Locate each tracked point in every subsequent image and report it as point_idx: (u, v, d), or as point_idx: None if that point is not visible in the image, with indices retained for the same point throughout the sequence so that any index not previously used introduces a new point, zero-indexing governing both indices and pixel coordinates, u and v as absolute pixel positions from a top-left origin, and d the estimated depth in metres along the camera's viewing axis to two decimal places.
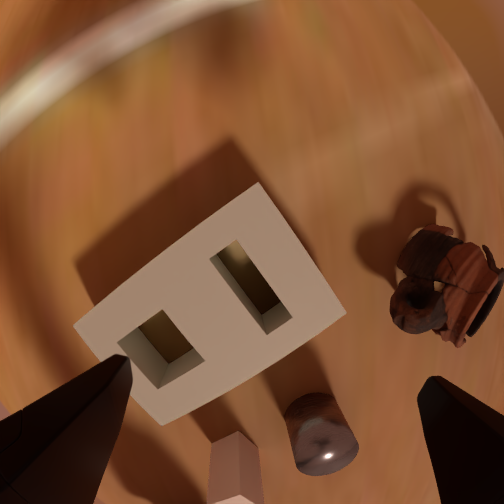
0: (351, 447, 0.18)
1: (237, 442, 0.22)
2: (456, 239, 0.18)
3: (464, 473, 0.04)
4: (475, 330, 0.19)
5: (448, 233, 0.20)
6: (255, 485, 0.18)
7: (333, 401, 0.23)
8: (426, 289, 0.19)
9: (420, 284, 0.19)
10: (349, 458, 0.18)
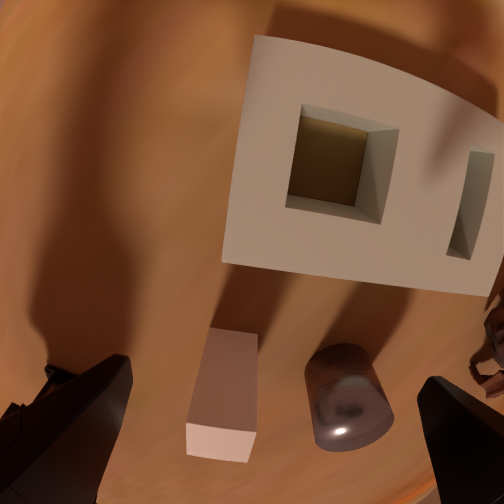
0: (378, 433, 0.15)
1: (255, 349, 0.17)
2: None
3: (464, 473, 0.04)
4: (496, 395, 0.17)
5: None
6: None
7: None
8: None
9: None
10: (360, 444, 0.15)
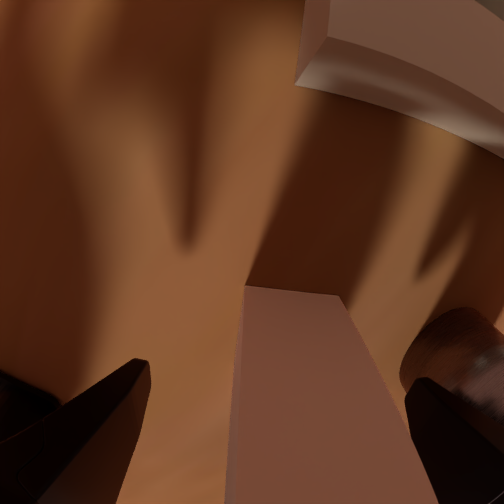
0: None
1: (348, 320, 0.08)
2: None
3: (451, 478, 0.04)
4: None
5: None
6: None
7: None
8: None
9: None
10: None
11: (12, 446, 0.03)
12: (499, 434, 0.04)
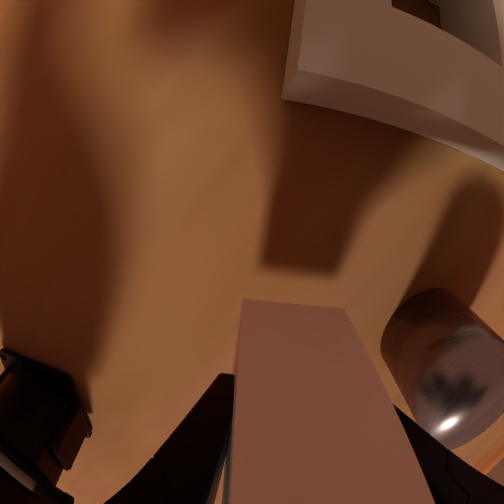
0: (500, 411, 0.07)
1: (355, 338, 0.07)
2: None
3: None
4: None
5: None
6: None
7: None
8: None
9: None
10: (475, 433, 0.08)
11: (131, 497, 0.03)
12: (436, 457, 0.04)
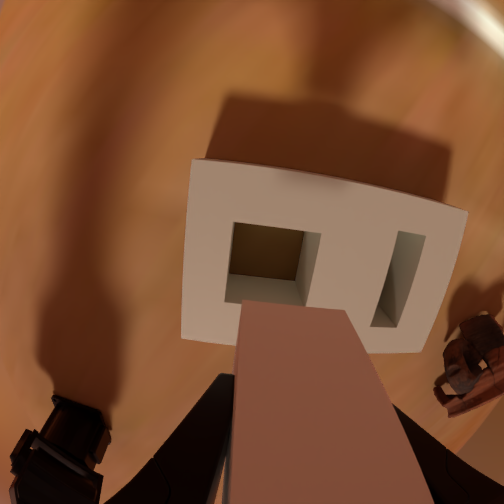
0: None
1: (356, 340, 0.07)
2: None
3: None
4: None
5: None
6: None
7: None
8: (474, 359, 0.18)
9: (472, 353, 0.18)
10: None
11: (131, 497, 0.03)
12: (436, 457, 0.04)
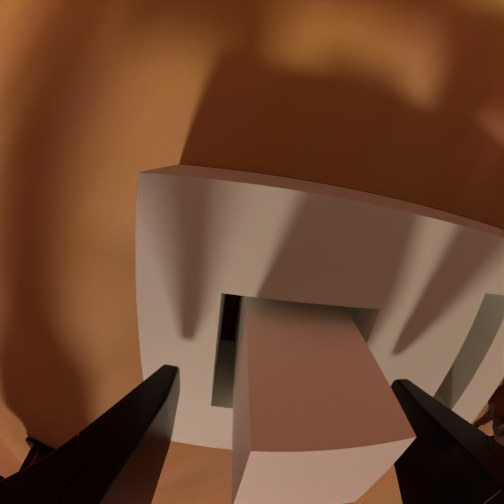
0: None
1: None
2: None
3: (428, 487, 0.04)
4: None
5: None
6: None
7: None
8: None
9: None
10: None
11: (49, 466, 0.03)
12: (480, 442, 0.04)
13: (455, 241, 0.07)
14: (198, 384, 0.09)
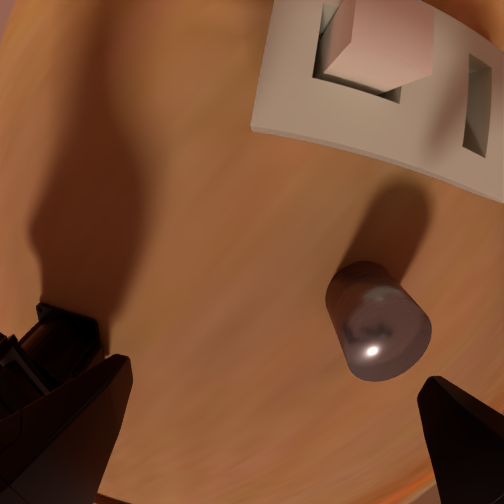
0: (414, 355, 0.14)
1: None
2: None
3: (464, 473, 0.04)
4: None
5: None
6: None
7: None
8: None
9: None
10: (395, 371, 0.14)
11: None
12: None
13: (436, 14, 0.09)
14: (305, 56, 0.11)
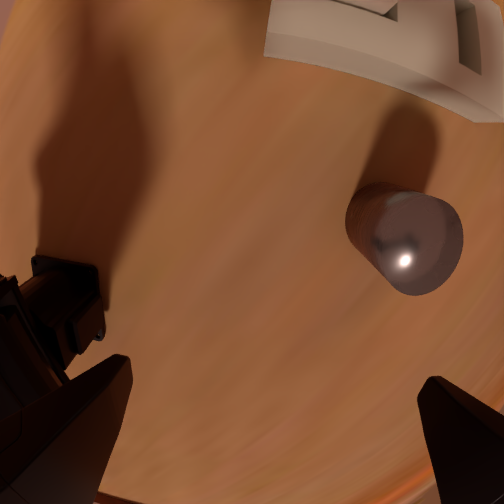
0: (450, 262, 0.13)
1: None
2: None
3: (464, 473, 0.04)
4: None
5: None
6: None
7: None
8: None
9: None
10: (432, 283, 0.13)
11: None
12: None
13: None
14: None
